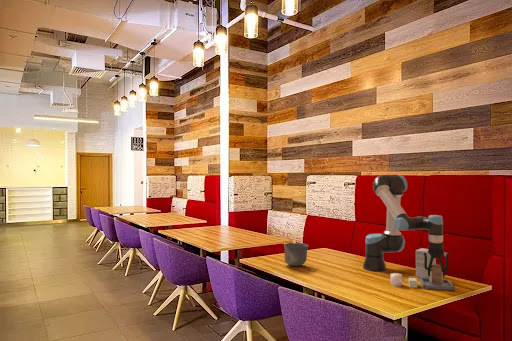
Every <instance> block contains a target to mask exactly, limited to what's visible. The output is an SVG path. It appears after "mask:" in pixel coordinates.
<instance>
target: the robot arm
mask: <svg viewBox="0 0 512 341" xmlns="http://www.w3.org/2000/svg"><path fill="white" fill-rule="evenodd" d="M407 189H408V182H407V179H406V177H405V176H403V175H402V174H401V175H400V174H380V175H378V176H376V177H375V178H374V180H373V182H372V190H373V191H374V193H375V195H376V196H377V197H379V198H380V200H382V202H383V204H384V205H385V207H386V222H385V225H386V227H385V230H384V231H383V234H382V233H370V234H367V235H366V236H365V256H364V257H365V258H364V261H363V265H362V269H364V270H367V271H373V272H384V271H386V270H387V265H386V261H385V259H384V254H385V253H386V254H387V253H400V252H402V251H403V249H404V248H405V244H406V241H405V237H404V236H403V235H402V232H400V231H417V230H418V231H419V230H421V231H422V230H426V231H428V241H429V242H428V249H429V250H428V251H427V252H423V254H424V268H425V269H426V270H428V276H430V282H432V271H431V266H432V263H433V260H434V258H436V259H437V260H438V261H439V265H441V267H442V283H443V279H444V278H445V276H446V275H445V274H446V272H448V271H449V256H450V254H449V252H446V251H444V243H443V242H444V220H443V219H444V218H443V216H442V215H441V214H440V215H438V214H430V215H428V217H426V216H420V215H419V216H413V217H410V216H409V215H408V214H407V213H406V211H405V209H404V208H403V207H402V206H401V199H402V198H401V197H402V196H404V192H406V191H407ZM428 253H429V254H430V256H431V258H430V262H429V265H428V267H427V255H428ZM443 256H444V263H443V260H442V257H443Z"/></svg>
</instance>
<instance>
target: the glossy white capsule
mask: <svg viewBox="0 0 512 341" xmlns="http://www.w3.org/2000/svg"><path fill="white" fill-rule="evenodd" d="M390 285H391V286H392V287H403V274H402V273H397V272H393V273H390Z"/></svg>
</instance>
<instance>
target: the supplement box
mask: <svg viewBox="0 0 512 341" xmlns="http://www.w3.org/2000/svg"><path fill="white" fill-rule="evenodd" d="M428 250H429V248H422V247H420V248H419V249H416V250H415V277H416V278H420V277H421V278H430V276H428V270H426V269H425V268H424V254H423V252H427V251H428ZM430 258H431V256H430V254H429V253H428V255H427V267H428V265H429V262H430ZM436 259H437V258H434V260H433V263H432V264H437V262H436Z"/></svg>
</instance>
